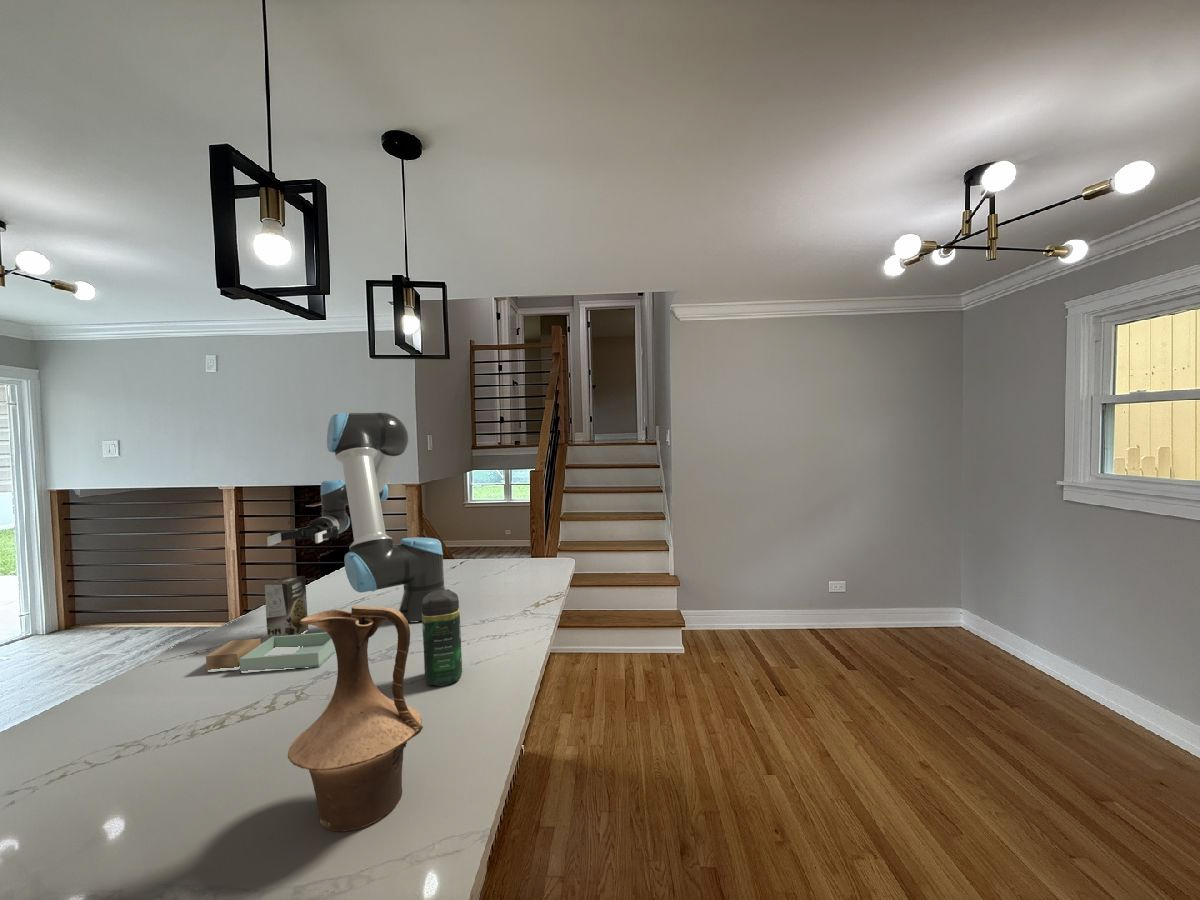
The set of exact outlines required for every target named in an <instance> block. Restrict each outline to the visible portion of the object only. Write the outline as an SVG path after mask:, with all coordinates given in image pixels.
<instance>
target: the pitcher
mask: <svg viewBox="0 0 1200 900" xmlns="http://www.w3.org/2000/svg"><path fill="white" fill-rule="evenodd" d="M350 608H351V611H348V610H339V609H331V610H330V609H329V610H325V611H320V612H316V613H314V614H311V615H309V616H308V617H305V618H303V619H302V620H300V624H308V626H310V625H311V626H316V628H317V627H318V628H319V629H321V630H324V631H325V632H327V633H328V634H329V636H330V637H331V639H332V641H333V643H334V646H335V650H336V652H335V656H336V661H337V677H336V684H335V688H334V692H333V695H332V697H331V700H330V701H329V702H328V705H327V706H326V708H325V710H324V711H323V712H322V713H321V714H320V716H318V718H317V719H316V720H315V721H314V722H313V723H312V724H310V726H308V727H307V728H306V729H305V730H304V731H302V733H300V735H298V736H297V737H296V738H295V739H294V740H293V741H292V743H291V744H290V746H289V747H288V752H287V759H288V760H289V762H290V763H291V764H292V765H293V766H295V767H297V768H300V769H302V770H303V769H304V770H307V771H308V772H309V774H310V778H311V780H312V781H311V782H312V784H313V785H312V786H313V790H314V794H315V800H316V801H315V802H316V806H317V811H318V812H317V813H318V821H319V823H320V825H321V827H324V828H325V829H327V830H329V831H335V832H346V831H352V830H353V831H354V830H358V829H361V828H364V827H367V826H369V825H371V824H373V823H375V822H377V821H379V820H380V819H383V818H384V817H385V816H386V815H387V814H389V813H390V812H391V811H393V809H394V808H395V807H396V806H397V805H398V804H399V802H400V800H401V798H402V796H403V783H402V782H403V781H402V778H403V761H404V750H405V748H406V747H407V744H408V741H410V740H411V739H413V738H414V737H416V736H418V735H419V734H420V733H421V732H422V730H423V728H424V726H423V725H422V720H423V719H422V715H420V713H419V712H418V710H417V709H415V708H414V707H412V706H410V705H407V703H406V700H405V697H404V678H405V673H406V664H407V660H408V659H407V658H408V655H409V650H410V643H411V629H410V625H409V622H408V621H407V620H406V618H405V617H404V615H403V614H402V613H401V612H399V609H398V610H397V609H395V608H392V607H386V606H363V605H354V606H352V607H350ZM385 620H386V621H388V622H391V623H392V624H393V625H394V627H395V629H396V632H397V647H396V654H395V659H394V660H395V661H394V665H393V672H392V685H391V689H392V691H391V692H392V696H393V697H392V699H393V700H392V699H391V698H389V697H388V696H386V695H385V694H383V693H382V692H381V691H380V689H379V688H378V687H377V685H376V683H375V682H374V680H373V678H372V675H371V671H370V668H369V658H368V654H369V653H368V648H369V647H368V646H369V639H370V638H372V637H373V636H374V635H375V634H376V632H377V630H378V629H379V628H380V626H381V625H382V623H383V622H384V621H385Z"/></svg>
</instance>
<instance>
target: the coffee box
mask: <svg viewBox="0 0 1200 900" xmlns="http://www.w3.org/2000/svg"><path fill="white" fill-rule="evenodd" d="M306 585H307V584H306V576H305V575H296V576H295V575H294V576H284V577H283V576H282V577H281V578H279V579H275V580H274V581H271V582H269V583H266V584H264V596H265V598H264V599H265V616H266V618H265V619H266V634H267V636H266V637H267V640H268V639H269V638H271V637H273V636H286V635H299V634H301V633H303V632H304V631H306V630H308V631H309V625H308V624H300V620H302V619H303V618H305V617H308V601H307V586H306ZM267 640H266V641H267Z"/></svg>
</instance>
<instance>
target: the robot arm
mask: <svg viewBox="0 0 1200 900" xmlns="http://www.w3.org/2000/svg"><path fill="white" fill-rule="evenodd" d="M326 432H327V433H326V447H327V450H328V452H329V453H333V454H335V459H336V460H337V461H339V462H340V463H341V464H342V468H343V475H344V480H343V479H342V478H341V479H327V480H322V481H321V483H320V499H321V501H320V502H321V503H320V504H321V517H318V518H315V519H312V520H311V521H309V523H308V525H307V526H305V527H299V528H298V527H294V528H291V529H286V530H280V531H276V532H271V533H270V534H269V535H270V536H269V535H268V536H267V537H266V539H267V540H266V541H267V547H272V546H274V545H279V544H280V543H282V542H283V541H291V540H295V539H297V540H298V539H299V540H304V539H310V540H312V541H314V543H315V544H320V543H322V542H324V541H328V540H329V539H332V538H335V539H339V538H340V537H339V535H340V534H342V533H343V532H345V531H346V530H347V529H348V528H349V527H350V526H351V528H352V535H353V542H352V543H351V544H350V545H349V551H348V552H347V553H345V555H344V559H343V560H344V561H343V562H344V571H345V574H346V578H347V579H348V582H349V584H350V586H351V588H352V589H353V590H354V591H355V592H357V593H367V592H368V593H369V592H375V591H377V590H383V589H387V588H392V587H397V586H403V595H402V598H401V601H400V605H399V609H398V611H399V612H401V613H402V614H403V615H404V617H405V618H406V620H407V621H422V606H421V604H422V600H423V598H424V597H425V596H426V595H428V594H429V593H430V592H431V591H437V590H446V587H445V576H444V556H443V555H444V552H443V547H442V542H441V541H440V540H439V539H437V538H434V537H405V538H401V540H400V542H399V543H400V544H396V545H394V541H393V538H392V537H391V536H389V535H387V533H386V527H385V521H384V516H383V510H382V504H381V502H384V501H387V499H388V497H389V487H388V484H387V482H388V480H389V478H390V475H391V473H392V471H393V469H394V467H395V465H396V462H397V461H398V458H399V457H400V456H401V455H403V453H405V451H406V449H407V448H408V443H409V433H408V430H407V427H406V426H405V424H404V423H403V422H402V421H401V420H400V419H399V418H398V417H397V416H395V415H393V414H391V413H387V412H349V411H348V412H340V413H334V414H332V416H331V417H330V419H329V422H328V426H327V431H326ZM346 506H348V509H349V514H350V517H349V515H348V513H347V512H346ZM350 524H351V525H350Z"/></svg>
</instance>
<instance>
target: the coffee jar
mask: <svg viewBox="0 0 1200 900" xmlns="http://www.w3.org/2000/svg"><path fill="white" fill-rule="evenodd" d="M421 606H422V622H421V623H422V624H421V625H422V641H423V663H424V664H423V665H424V666H423V667H424V669H423V670H424V680H425V681H424V682H426V685H429V686H438V687H439V686H448V685H451V684H452V683H454V682H458V681H459V680H460V679H461V678H462V675H463V659H462V655H463V654H462V635H461V634H462V631H461V615H460V613H461V612H460V601H459V596H458V594H457V593H456V592H454V591H452V590H450V589H449V588H447V589H445V590H437V591H431V592H430V593H429V594H428V595H426V596H425V597H424V598H423V600H422V604H421Z"/></svg>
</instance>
